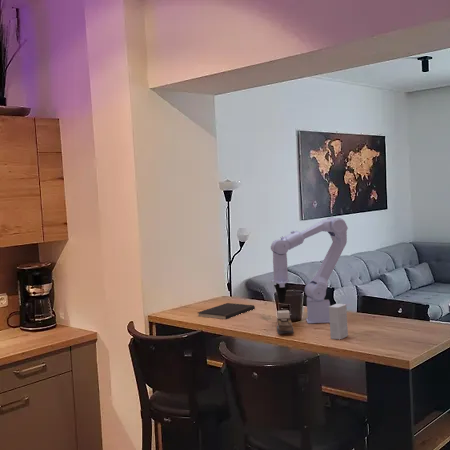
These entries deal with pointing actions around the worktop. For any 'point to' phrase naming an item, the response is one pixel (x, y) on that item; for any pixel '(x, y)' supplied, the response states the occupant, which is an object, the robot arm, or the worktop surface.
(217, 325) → the worktop surface
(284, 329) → the beam
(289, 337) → the worktop surface
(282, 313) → the rider
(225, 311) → the hardcover book
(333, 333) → the skincare box
